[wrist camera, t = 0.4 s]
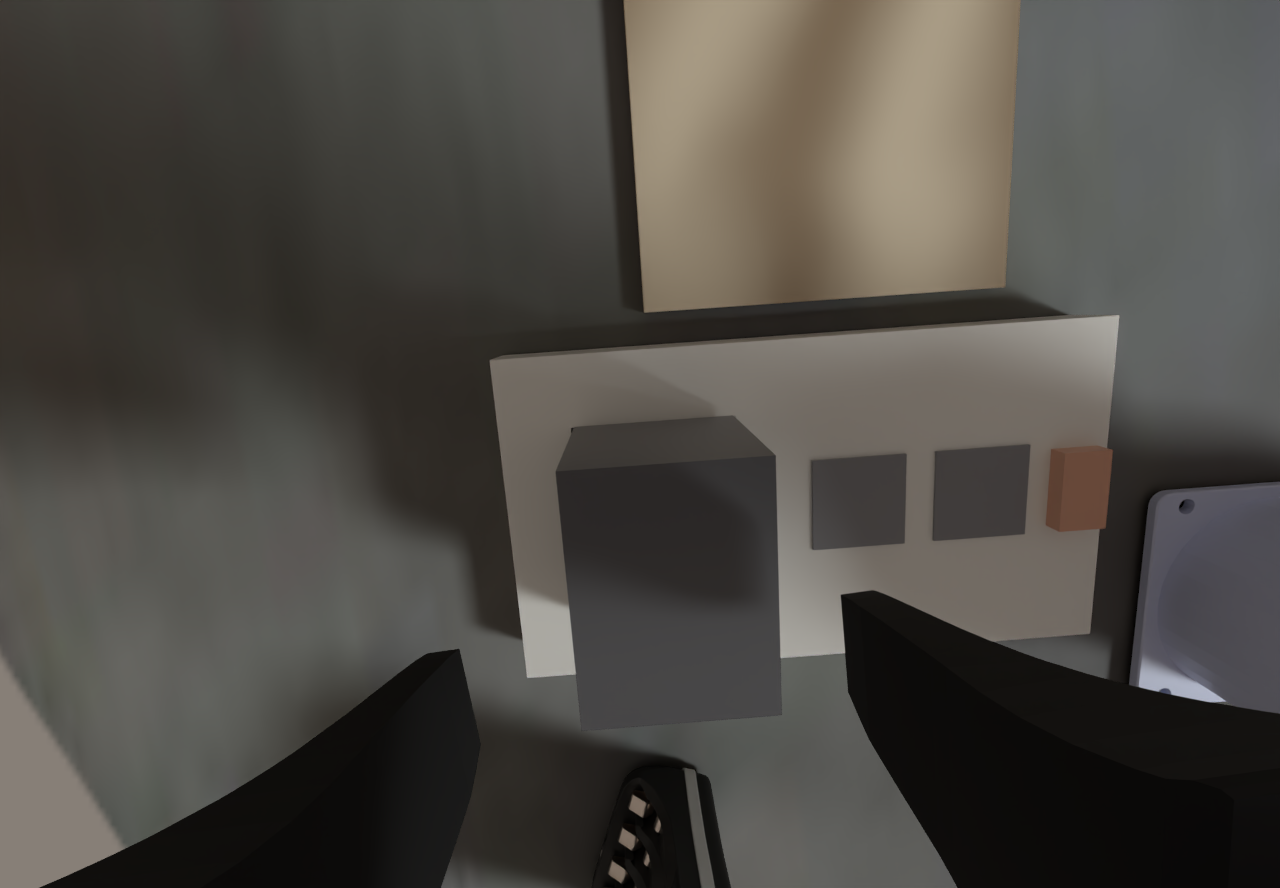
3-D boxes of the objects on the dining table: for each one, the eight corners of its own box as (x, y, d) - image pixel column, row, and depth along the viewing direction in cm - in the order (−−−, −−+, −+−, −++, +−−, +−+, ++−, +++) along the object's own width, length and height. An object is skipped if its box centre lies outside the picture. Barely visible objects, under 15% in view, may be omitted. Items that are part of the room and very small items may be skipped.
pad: (1013, -122, 17) (1027, -137, 17) (993, 288, 19) (1005, 287, 19) (616, -97, 17) (616, -112, 16) (643, 312, 19) (644, 312, 19)
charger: (719, 402, 20) (775, 455, 13) (726, 575, 21) (781, 714, 14) (580, 412, 20) (555, 471, 13) (595, 585, 21) (581, 730, 14)
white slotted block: (1070, 314, 20) (1136, 315, 17) (1047, 604, 22) (1104, 643, 19) (502, 354, 19) (485, 361, 17) (536, 644, 22) (524, 689, 19)
